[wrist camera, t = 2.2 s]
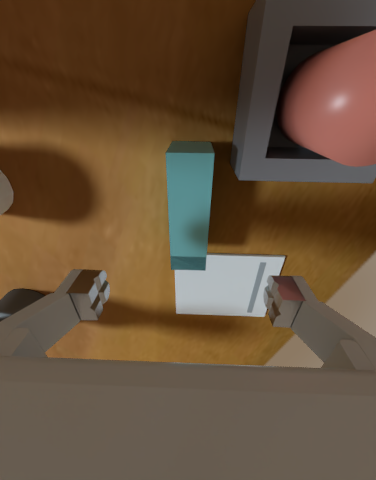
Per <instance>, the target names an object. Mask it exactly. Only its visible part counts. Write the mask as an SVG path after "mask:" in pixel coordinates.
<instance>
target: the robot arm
mask: <svg viewBox="0 0 376 480" xmlns="http://www.w3.org/2000/svg"><path fill="white" fill-rule="evenodd" d="M106 277H107V275H106V272H105V271H103V270H86V269H84V270H82V269H73V270H71V271H70V273H69V274H68V275H67V277H66V278H65V279H64V281H63V282H62V283H61V285H60V286H59V287H58V288H57V290H56V291H55V292H54V293H50V294H48V295H46V296H45V297H43V298H41V299H39V300H38V301H36V302H34V303H32V304H31V305H29V306H27V307H25V308H23V309H22V310H20V311H18V312H16V313H15V314H13V315H11V316H9V317H8V318H6V319H4V320H2V321H1V322H0V480H376V338H375V337H374V336H372V335H371V334H369V333H368V332H366V331H365V330H363V329H362V328H360V327H359V326H357V325H356V324H354V323H353V322H351V321H350V320H348V319H347V318H345V317H344V316H342V315H341V314H339V313H338V312H336V311H335V310H333V309H332V308H330V307H329V306H327V305H326V304H324V303H323V302H319V301H318V300H317V298H316V297H315V295H314V294H313V292H312V291H311V289H310V287H309V286H308V284H307V283H306V281H305V280H304V278H303V277H302V276H273V275H269V277H268V279H267V283H268V286H266V287H265V289H264V294H263V298H264V303H265V306H266V307H267V308H268V309H269V310H270V311H269V314H268V315H269V318H270V321H271V323H272V326H273V327H289V328H291V329H292V330H293V331H294V332H295V333H296V334H297V335H298V336H299V337H300V338H301V339H302V340H303V342H304V343H305V344H306V345H307V346H308V347H309V348H310V349H311V350H312V351H313V352H314V353H315V354H316V355H317V356H318V357H319V358H320V359H321V360H322V361H323V362H324V364H323V366H322V367H321V368H302V367H278V366H277V367H276V366H252V365H226V364H200V363H174V362H149V361H123V360H98V359H73V358H48V357H47V355H46V354H45V352H46V351H47V350H48V349H49V348H50V347H52V346H53V345H54V344H55V343H56V342H57V341H58V340H59V339H61V338H62V337H63V336H64V335H65V334H66V333H67V332H69V331H70V330H71V329H72V328H73V327H74V326H75V325H76V324H78V323H79V322H80V320H98V319H99V317H100V315H101V312H102V310H103V306H102V304H104V303H105V302H106V301H107V299H108V297H109V292H110V286H109V283H108V282H107V281H106V280H105V279H106Z"/></svg>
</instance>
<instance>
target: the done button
mask: <svg viewBox="0 0 376 480" xmlns="http://www.w3.org/2000/svg"><path fill="white" fill-rule="evenodd" d="M276 118H277V123H278V126H279V129H280V131H281V133H282V134H283V135H284V137H286V138H287V139H288V140H289V141H291V142H293V143H295V144H297V145H300V146H302V147H304V148H306V149H309V150H311V151H313V152H316V153H318V154H320V155H322V156H325V157H327V158H329V159H331V160H334V161H336V162H338V163H341V164H343V165H347V166H354V167H361V166H369V165H373V164H376V30H373V31H371V32H368V33H366V34H363V35H361V36H358V37H355V38H353V39H350V40H348V41H345V42H343V43H340V44H338V45H335V46H332V47H330V48H327V49H325V50H322V51H320V52H317V53H315V54H313V55H311V56H309V57H308V58H306V59H305V60H303V61H302V62H301V63H300V64H299V65H298V66H297V67H296V68H295V69H294V70H293V71H292V72H291V74H290V75H289V76H288V78H287V80H286V81H285V83H284V85H283V87H282V89H281V91H280V94H279V97H278V101H277V107H276Z"/></svg>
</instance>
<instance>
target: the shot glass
mask: <svg viewBox="0 0 376 480" xmlns="http://www.w3.org/2000/svg"><path fill="white" fill-rule="evenodd" d="M12 203H13V190H12V187H11V185H10V182H9V180H8V178H7V177H6V176H5V175H4V174H3V172H2V171H1V170H0V215H2V214H3V213H4V212H6V211H7V210H8V209H9V208H10V206H11V205H12Z"/></svg>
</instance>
